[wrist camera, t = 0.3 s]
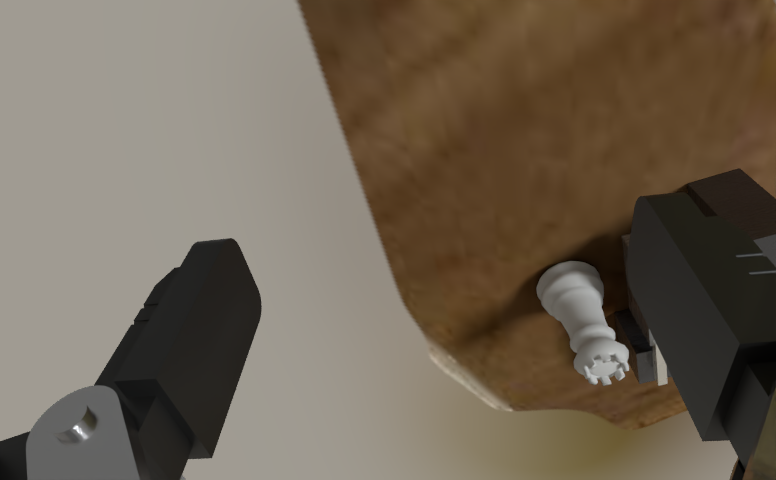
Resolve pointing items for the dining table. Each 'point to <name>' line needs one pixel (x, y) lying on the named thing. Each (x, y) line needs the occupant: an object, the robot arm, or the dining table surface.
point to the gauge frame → (714, 198)
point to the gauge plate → (644, 324)
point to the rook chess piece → (583, 319)
